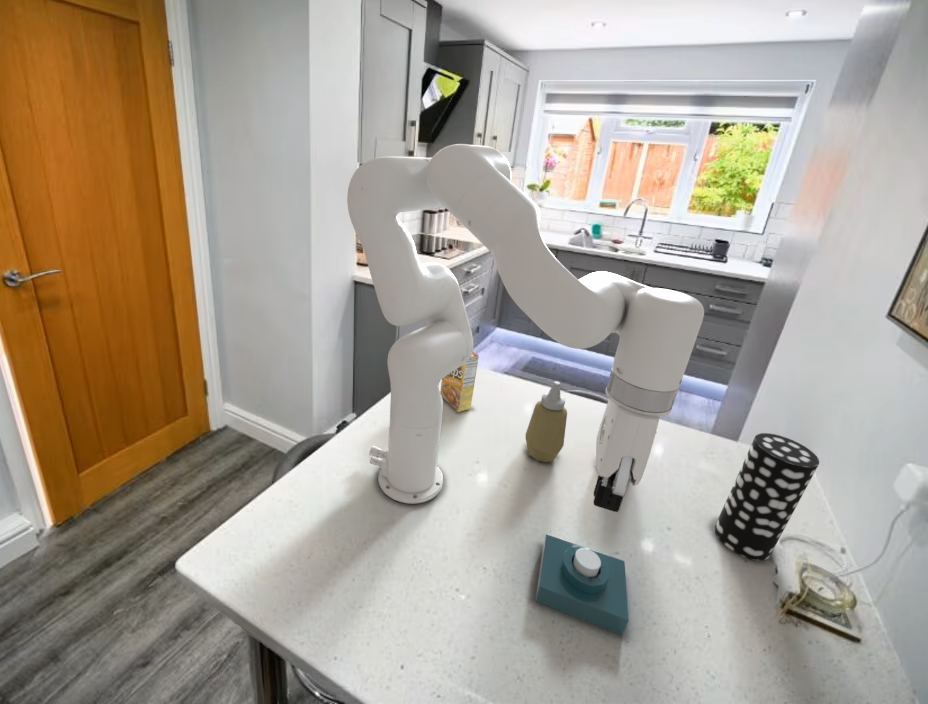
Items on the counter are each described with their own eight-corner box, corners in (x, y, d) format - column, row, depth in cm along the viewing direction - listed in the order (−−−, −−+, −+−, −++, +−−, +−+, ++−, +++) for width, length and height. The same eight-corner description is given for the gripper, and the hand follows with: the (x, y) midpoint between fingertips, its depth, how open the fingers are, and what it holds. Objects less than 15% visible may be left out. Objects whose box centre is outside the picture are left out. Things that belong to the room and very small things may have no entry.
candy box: (439, 395, 115) (444, 342, 109) (452, 391, 117) (458, 340, 111) (458, 412, 108) (465, 358, 102) (471, 409, 110) (479, 354, 104)
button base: (535, 601, 64) (541, 577, 62) (542, 548, 73) (548, 525, 71) (622, 635, 61) (632, 611, 59) (619, 575, 69) (627, 552, 67)
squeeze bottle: (564, 467, 92) (583, 394, 85) (526, 464, 92) (542, 391, 85) (554, 443, 100) (570, 374, 93) (519, 440, 100) (533, 371, 93)
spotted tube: (754, 567, 72) (803, 473, 65) (704, 529, 79) (744, 440, 72) (779, 550, 76) (829, 458, 69) (730, 515, 83) (770, 428, 75)
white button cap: (572, 572, 64) (574, 563, 63) (573, 552, 67) (575, 544, 67) (598, 581, 63) (601, 573, 62) (598, 561, 66) (600, 553, 66)
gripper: (606, 356, 61) (578, 461, 68) (609, 413, 48) (574, 535, 55) (665, 369, 59) (630, 476, 66) (686, 432, 46) (639, 557, 53)
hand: (605, 502), depth 60 cm, fingers closed
